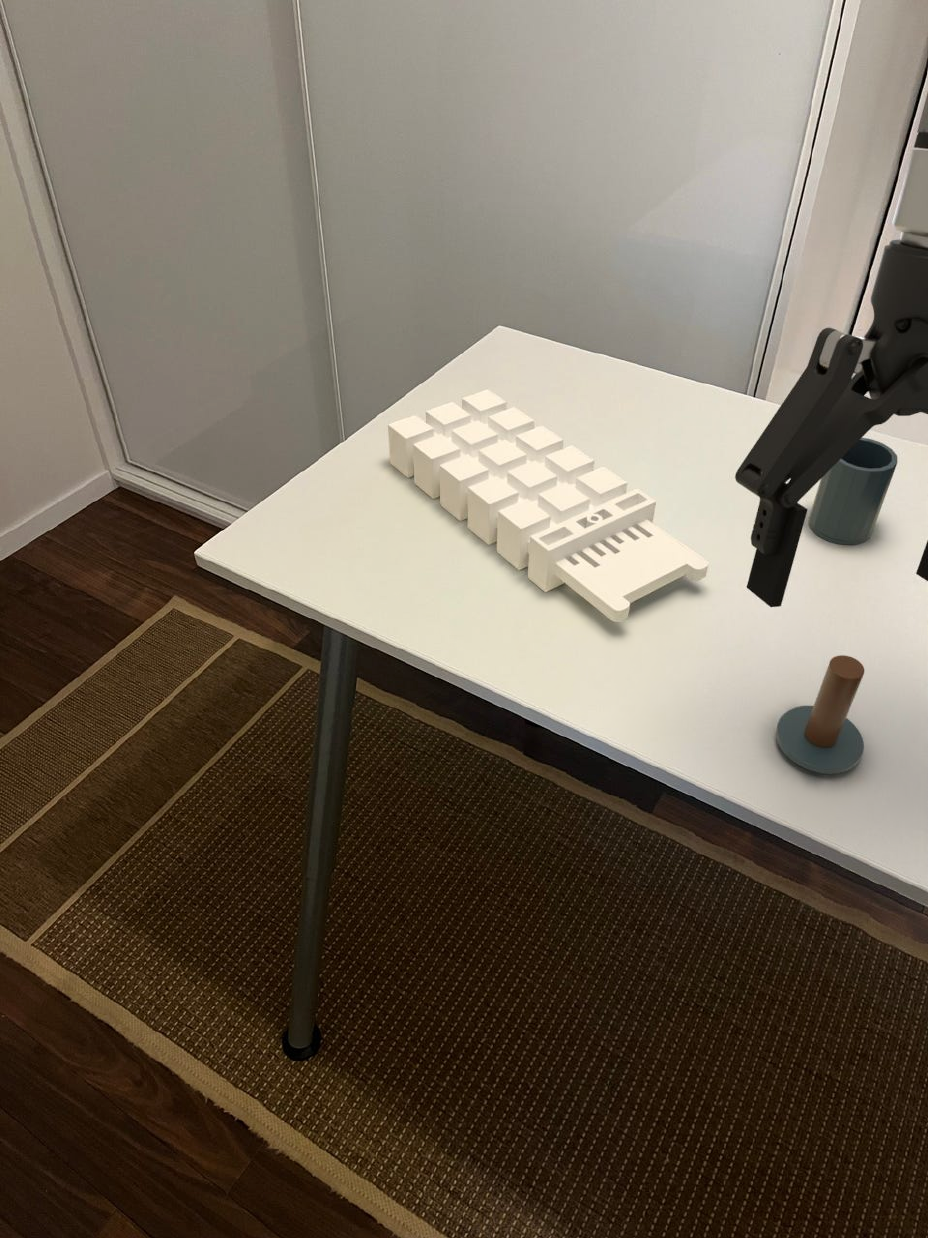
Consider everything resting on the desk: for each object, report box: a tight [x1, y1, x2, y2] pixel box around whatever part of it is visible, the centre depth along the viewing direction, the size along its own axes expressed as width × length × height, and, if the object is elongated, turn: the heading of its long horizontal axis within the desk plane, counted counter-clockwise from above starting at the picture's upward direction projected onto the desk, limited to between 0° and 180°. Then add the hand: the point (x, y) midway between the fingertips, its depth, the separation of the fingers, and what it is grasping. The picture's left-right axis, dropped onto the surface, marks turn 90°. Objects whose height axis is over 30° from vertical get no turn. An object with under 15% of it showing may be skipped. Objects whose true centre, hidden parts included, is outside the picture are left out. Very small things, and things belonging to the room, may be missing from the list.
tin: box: [808, 437, 899, 546], centre depth 91 cm, size 6×6×8 cm
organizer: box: [387, 389, 710, 623], centre depth 93 cm, size 13×5×35 cm
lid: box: [775, 654, 865, 775], centre depth 70 cm, size 6×6×9 cm
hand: (851, 590), depth 61 cm, fingers open, 13 cm apart
